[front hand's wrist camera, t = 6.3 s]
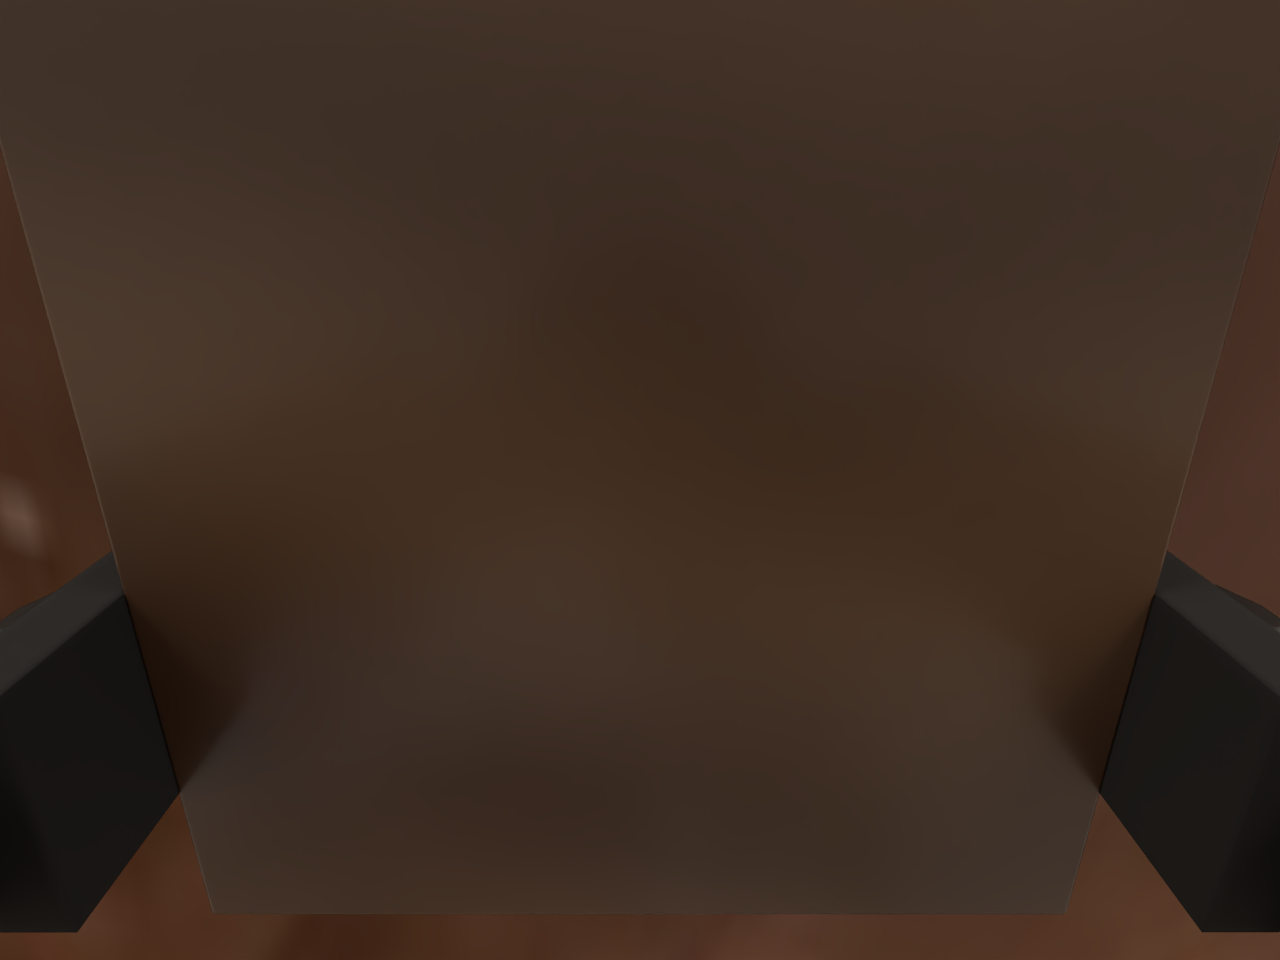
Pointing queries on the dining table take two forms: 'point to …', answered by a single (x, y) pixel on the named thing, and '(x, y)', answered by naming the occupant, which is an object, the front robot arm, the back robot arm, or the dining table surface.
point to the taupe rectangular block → (639, 424)
